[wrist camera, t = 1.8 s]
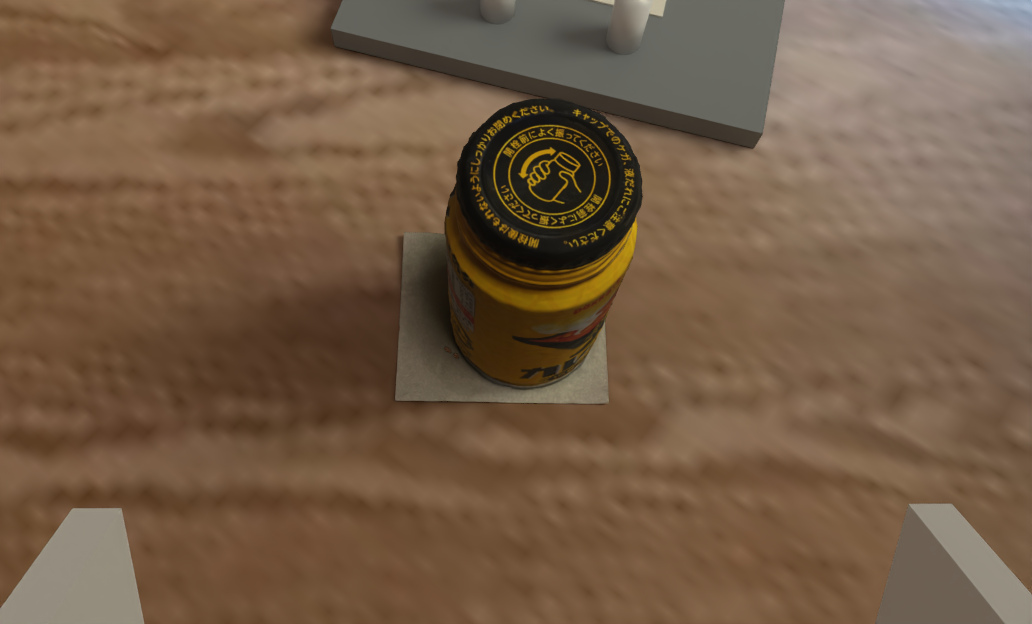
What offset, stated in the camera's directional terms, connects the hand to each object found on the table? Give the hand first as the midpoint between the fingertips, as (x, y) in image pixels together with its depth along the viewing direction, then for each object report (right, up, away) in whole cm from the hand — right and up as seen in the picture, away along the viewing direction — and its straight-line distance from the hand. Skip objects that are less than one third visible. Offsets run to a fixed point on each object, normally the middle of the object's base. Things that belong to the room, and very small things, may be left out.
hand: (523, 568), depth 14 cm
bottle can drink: (-1, +4, +20) cm, 20 cm away
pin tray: (+3, +22, +27) cm, 35 cm away
